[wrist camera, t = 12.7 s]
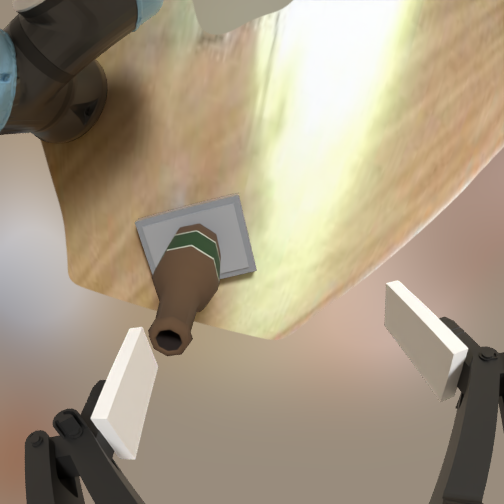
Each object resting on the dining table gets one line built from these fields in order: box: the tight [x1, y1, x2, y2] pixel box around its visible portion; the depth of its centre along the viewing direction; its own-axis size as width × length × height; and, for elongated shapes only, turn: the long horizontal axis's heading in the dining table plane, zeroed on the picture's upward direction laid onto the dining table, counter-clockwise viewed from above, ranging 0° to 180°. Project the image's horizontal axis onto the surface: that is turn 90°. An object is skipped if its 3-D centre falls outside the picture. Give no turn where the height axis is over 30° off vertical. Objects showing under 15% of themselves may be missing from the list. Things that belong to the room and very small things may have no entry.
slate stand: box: [135, 193, 257, 279], centre depth 48 cm, size 12×16×2 cm
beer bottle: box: [148, 223, 221, 356], centre depth 36 cm, size 8×8×24 cm
